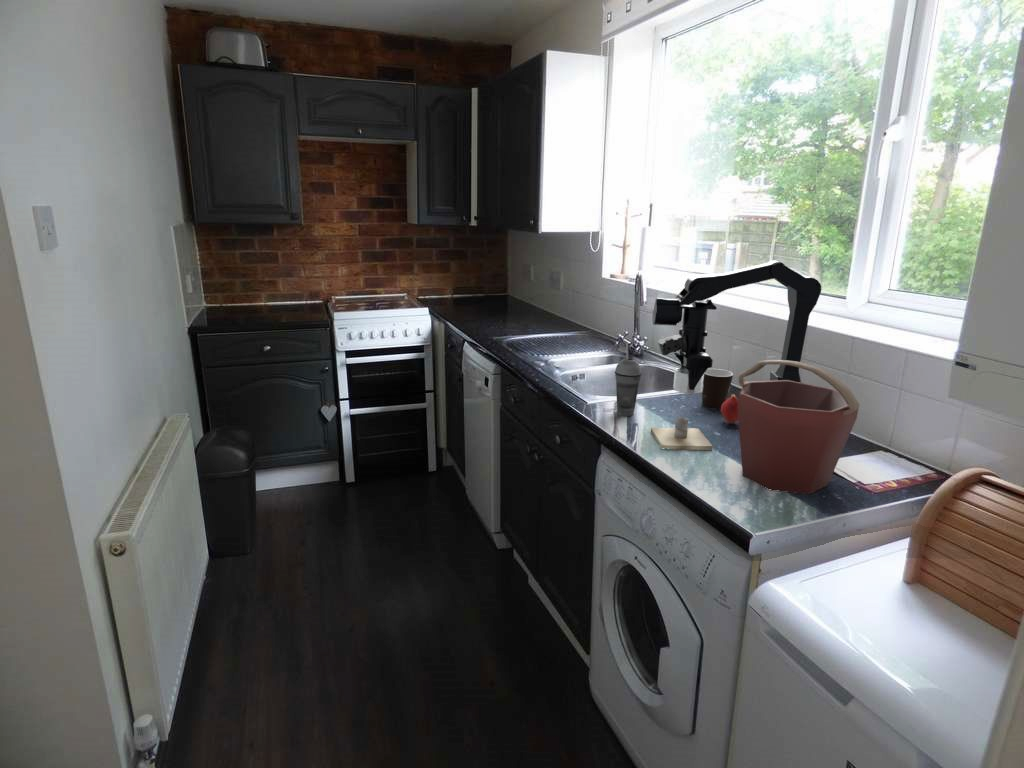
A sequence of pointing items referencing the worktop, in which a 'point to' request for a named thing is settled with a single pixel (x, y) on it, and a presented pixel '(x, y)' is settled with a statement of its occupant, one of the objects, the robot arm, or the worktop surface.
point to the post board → (681, 443)
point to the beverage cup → (627, 384)
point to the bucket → (793, 429)
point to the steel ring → (685, 382)
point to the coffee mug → (715, 387)
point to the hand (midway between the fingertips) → (688, 385)
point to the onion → (730, 409)
